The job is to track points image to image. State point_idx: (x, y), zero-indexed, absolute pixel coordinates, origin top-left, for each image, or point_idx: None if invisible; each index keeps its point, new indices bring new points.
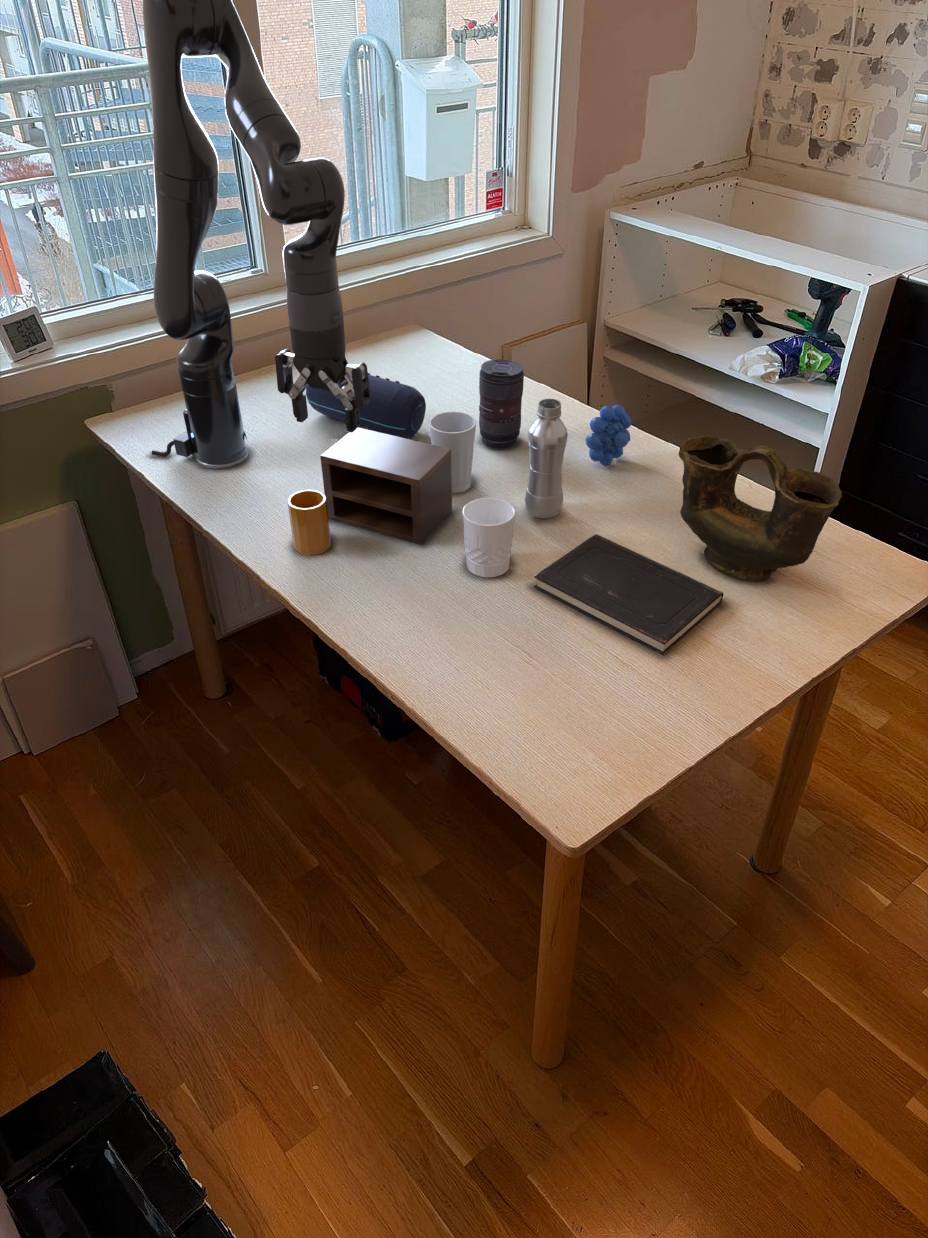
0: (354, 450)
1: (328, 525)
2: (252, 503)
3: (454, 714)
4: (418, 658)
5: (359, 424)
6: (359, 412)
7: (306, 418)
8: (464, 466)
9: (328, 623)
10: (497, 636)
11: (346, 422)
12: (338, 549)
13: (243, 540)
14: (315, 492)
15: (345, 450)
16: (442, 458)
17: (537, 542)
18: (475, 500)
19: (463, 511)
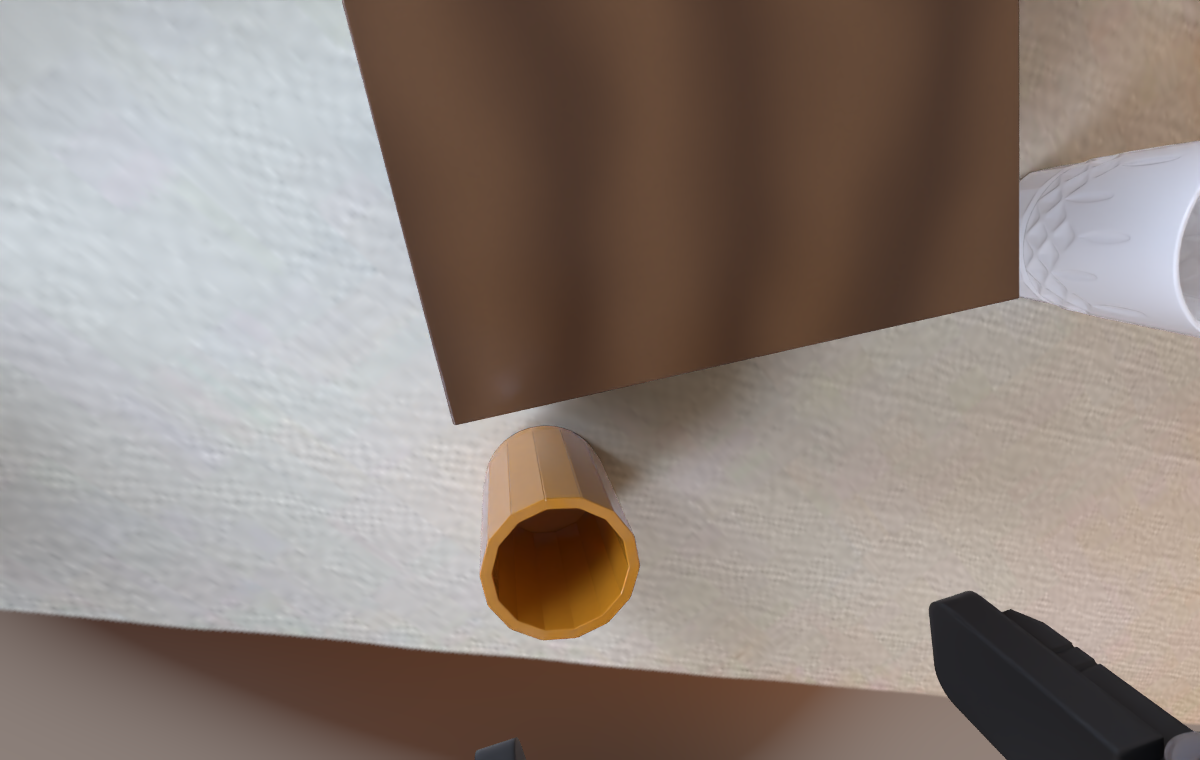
0: (568, 264)
1: (605, 477)
2: (160, 442)
3: (1166, 679)
4: (1044, 620)
5: (1024, 620)
6: (1138, 693)
7: (521, 749)
8: None
9: (815, 671)
10: (1163, 459)
11: (1009, 755)
12: (627, 448)
13: (348, 600)
14: (545, 509)
15: (526, 296)
16: (1017, 29)
17: (1124, 25)
18: (1195, 201)
19: (1186, 305)
